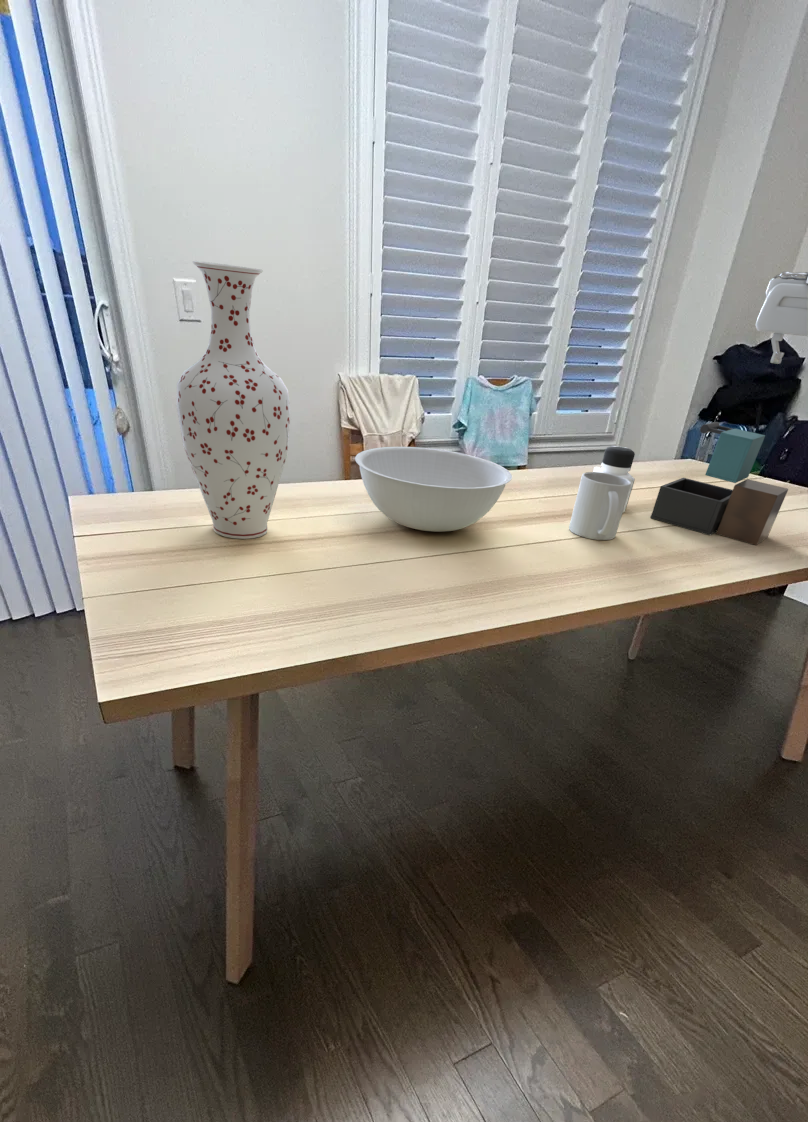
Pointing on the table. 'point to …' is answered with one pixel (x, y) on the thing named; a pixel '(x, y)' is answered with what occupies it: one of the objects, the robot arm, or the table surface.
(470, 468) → the bowl
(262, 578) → the table surface
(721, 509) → the basket
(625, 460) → the medicine bottle
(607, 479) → the mug
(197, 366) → the vase
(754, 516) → the stand
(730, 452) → the box
